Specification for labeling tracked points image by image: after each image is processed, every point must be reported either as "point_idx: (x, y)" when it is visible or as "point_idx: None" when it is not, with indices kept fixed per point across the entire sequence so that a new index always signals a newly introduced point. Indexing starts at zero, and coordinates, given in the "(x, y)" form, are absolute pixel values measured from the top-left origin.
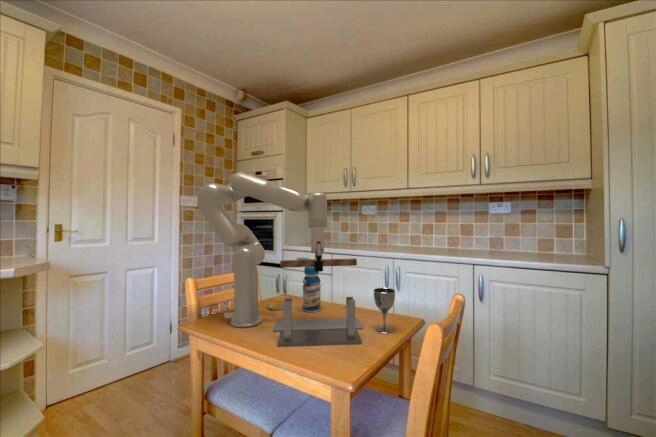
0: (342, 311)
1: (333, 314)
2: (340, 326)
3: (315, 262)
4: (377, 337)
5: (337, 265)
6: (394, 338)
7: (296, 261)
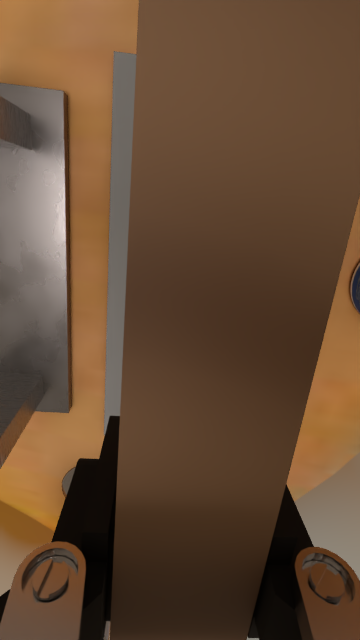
0: (319, 403)
1: None
2: None
3: (86, 522)
4: (27, 454)
5: None
6: (17, 493)
7: (134, 117)
